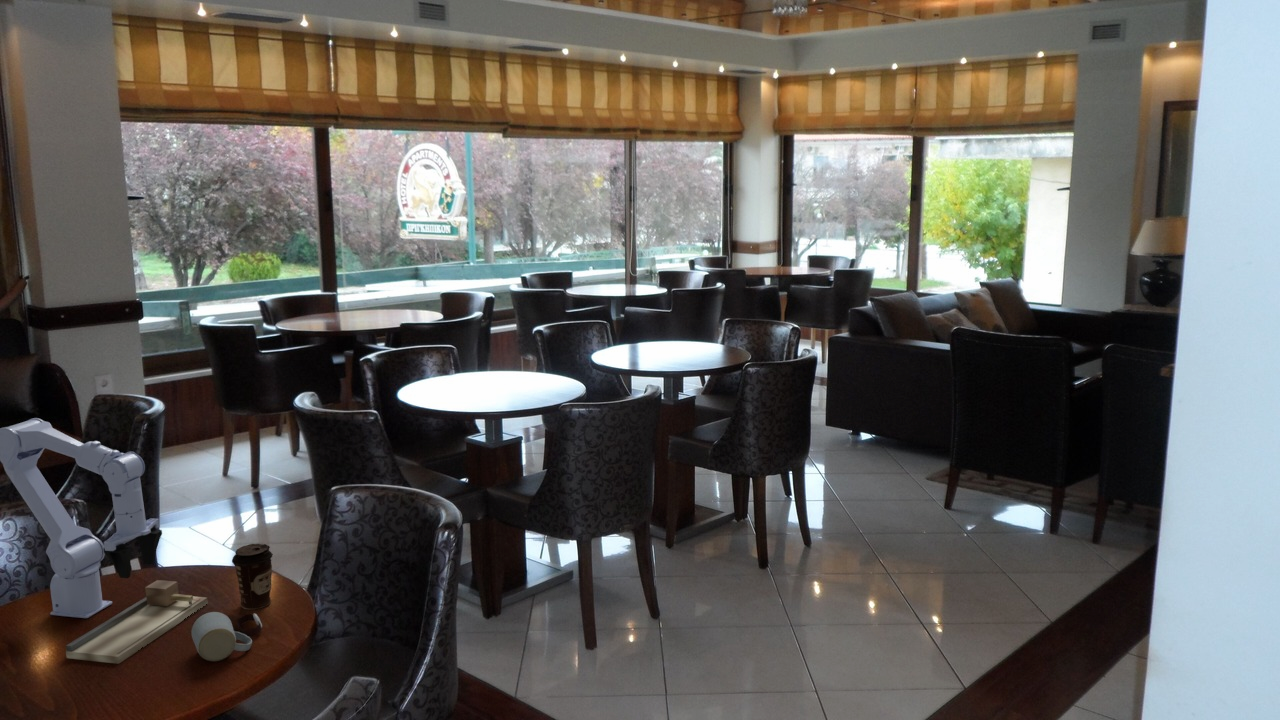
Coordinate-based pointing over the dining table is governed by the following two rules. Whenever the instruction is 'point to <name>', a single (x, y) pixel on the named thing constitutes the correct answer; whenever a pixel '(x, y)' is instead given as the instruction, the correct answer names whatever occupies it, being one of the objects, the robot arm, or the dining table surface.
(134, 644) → the cream flat tray
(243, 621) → the watch
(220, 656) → the ceramic mug
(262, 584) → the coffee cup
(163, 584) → the marking gauge
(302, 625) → the dining table surface
